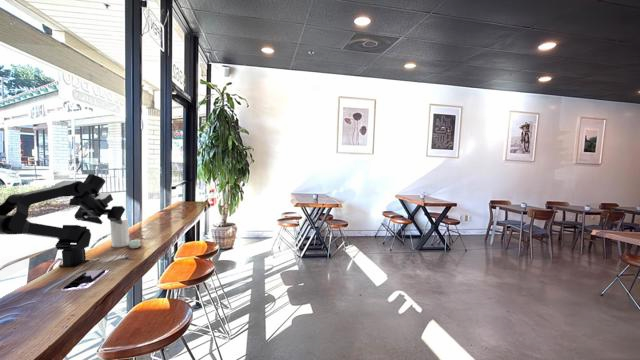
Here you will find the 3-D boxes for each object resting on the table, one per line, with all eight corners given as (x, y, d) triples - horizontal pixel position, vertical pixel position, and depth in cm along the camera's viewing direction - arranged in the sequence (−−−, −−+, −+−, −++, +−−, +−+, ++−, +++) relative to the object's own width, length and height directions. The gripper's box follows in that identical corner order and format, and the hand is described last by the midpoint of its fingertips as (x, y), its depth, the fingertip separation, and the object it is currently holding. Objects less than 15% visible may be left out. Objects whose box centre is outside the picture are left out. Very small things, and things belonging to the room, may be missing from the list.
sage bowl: (136, 248, 129) (135, 242, 129) (126, 248, 129) (126, 242, 129) (142, 245, 134) (142, 239, 133) (133, 245, 134) (133, 239, 134)
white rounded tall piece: (122, 247, 132) (120, 221, 130) (108, 247, 132) (106, 221, 131) (132, 242, 138) (131, 218, 137) (119, 242, 138) (117, 218, 137)
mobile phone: (110, 268, 105) (87, 286, 90) (110, 271, 105) (87, 289, 91) (85, 270, 103) (58, 289, 89) (85, 273, 103) (58, 292, 89)
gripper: (120, 187, 122) (139, 208, 134) (78, 187, 123) (101, 208, 135) (107, 209, 115) (128, 229, 127) (62, 209, 116) (87, 229, 128)
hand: (111, 223), depth 129 cm, fingers open, 9 cm apart
